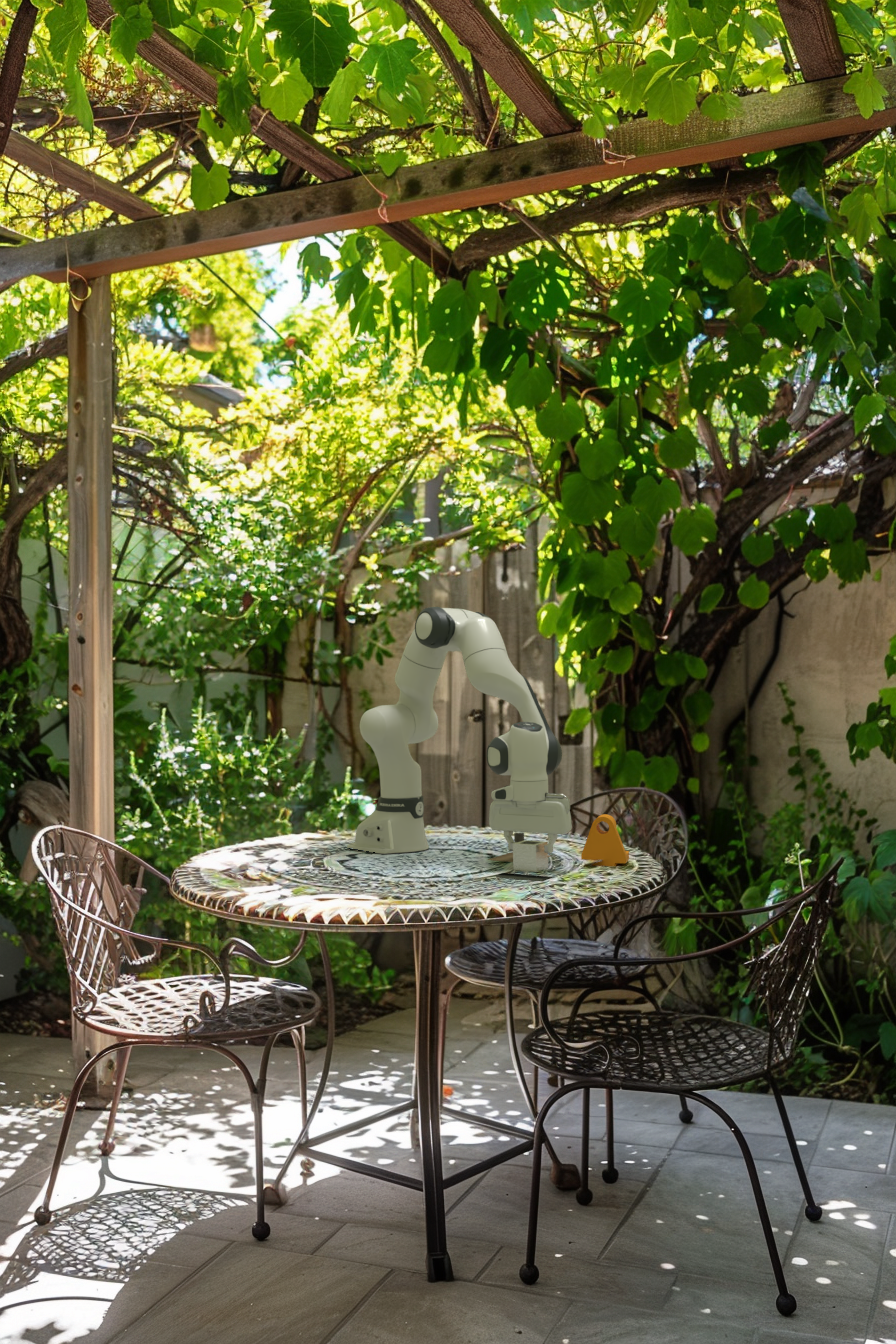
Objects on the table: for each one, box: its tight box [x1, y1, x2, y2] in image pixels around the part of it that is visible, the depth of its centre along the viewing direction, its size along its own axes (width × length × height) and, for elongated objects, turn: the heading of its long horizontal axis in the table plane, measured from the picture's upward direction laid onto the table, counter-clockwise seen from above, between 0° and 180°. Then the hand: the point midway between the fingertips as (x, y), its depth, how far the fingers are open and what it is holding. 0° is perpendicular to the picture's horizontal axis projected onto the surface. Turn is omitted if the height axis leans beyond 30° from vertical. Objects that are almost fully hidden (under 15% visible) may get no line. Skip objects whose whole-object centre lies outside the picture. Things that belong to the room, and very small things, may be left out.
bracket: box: [580, 813, 630, 867], centre depth 303 cm, size 11×7×12 cm, turn 75°
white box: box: [512, 839, 549, 876], centre depth 289 cm, size 6×6×7 cm
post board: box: [487, 832, 552, 863], centre depth 306 cm, size 12×12×8 cm
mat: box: [495, 872, 554, 882], centre depth 289 cm, size 12×12×1 cm
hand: (530, 851), depth 289 cm, fingers open, 8 cm apart
